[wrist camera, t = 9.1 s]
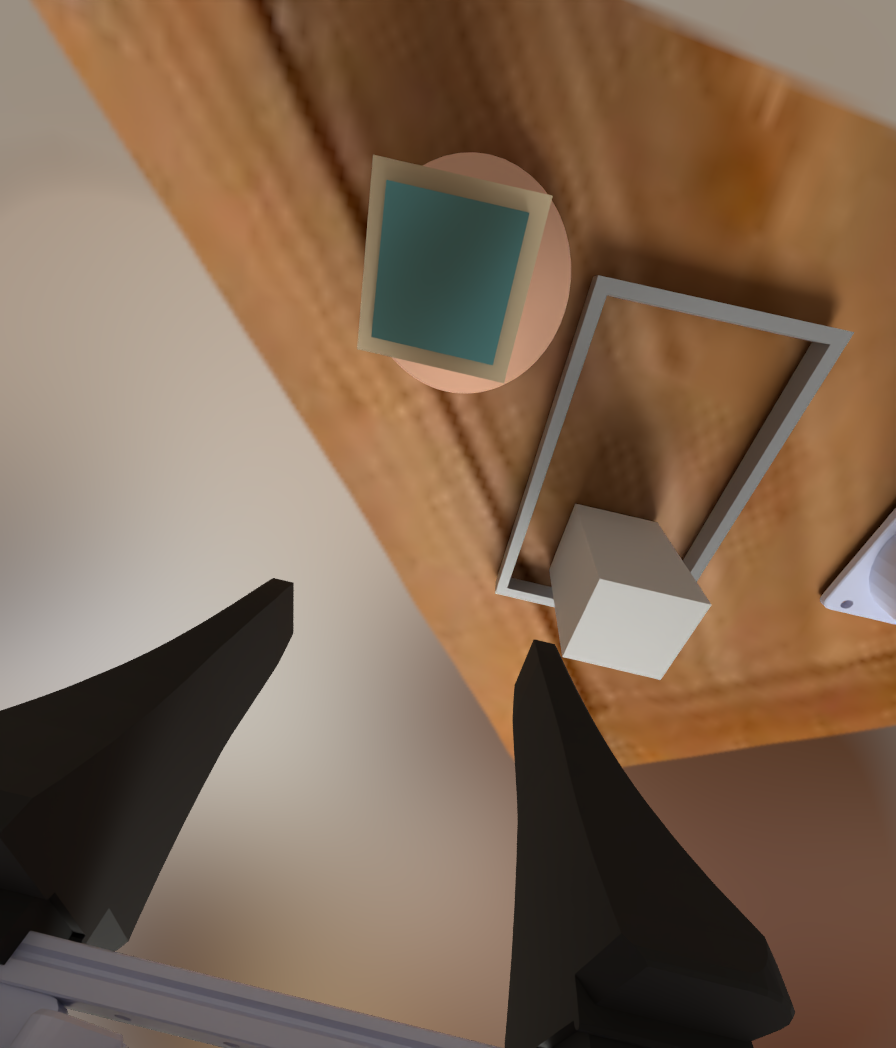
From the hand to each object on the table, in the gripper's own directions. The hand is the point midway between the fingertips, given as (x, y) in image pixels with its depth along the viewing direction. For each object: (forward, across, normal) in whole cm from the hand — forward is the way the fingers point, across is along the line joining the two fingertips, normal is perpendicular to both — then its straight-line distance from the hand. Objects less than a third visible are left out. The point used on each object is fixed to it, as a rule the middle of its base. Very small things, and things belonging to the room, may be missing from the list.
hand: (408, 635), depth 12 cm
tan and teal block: (+8, +1, -9) cm, 12 cm away
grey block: (+10, -8, +1) cm, 12 cm away
